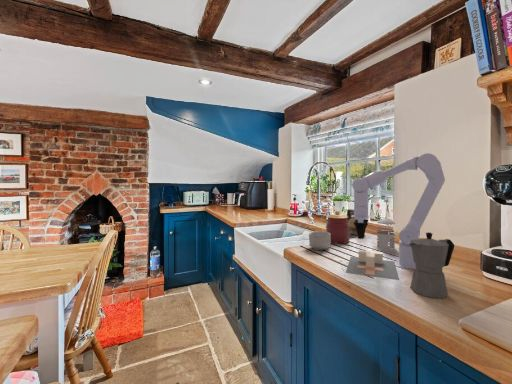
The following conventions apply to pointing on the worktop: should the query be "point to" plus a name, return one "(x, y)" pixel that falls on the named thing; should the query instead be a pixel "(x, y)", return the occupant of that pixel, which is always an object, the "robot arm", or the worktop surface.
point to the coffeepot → (430, 266)
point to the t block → (371, 258)
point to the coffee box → (351, 222)
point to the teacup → (319, 240)
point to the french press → (386, 236)
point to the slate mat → (373, 269)
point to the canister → (338, 227)
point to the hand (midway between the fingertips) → (361, 236)
